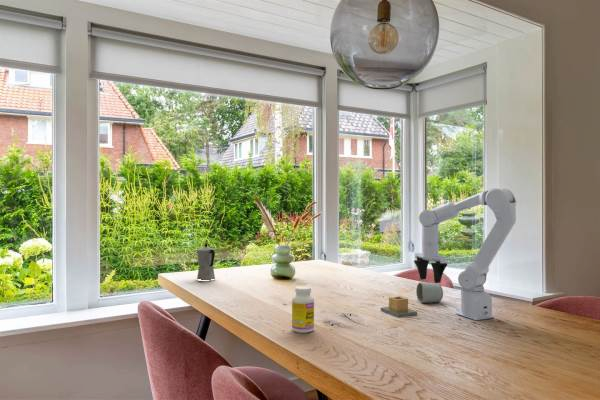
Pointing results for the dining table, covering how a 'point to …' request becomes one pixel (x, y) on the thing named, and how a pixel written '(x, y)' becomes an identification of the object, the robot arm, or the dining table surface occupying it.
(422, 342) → the dining table surface
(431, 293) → the ceramic mug
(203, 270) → the coffeepot
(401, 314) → the flat gray rectangular block
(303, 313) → the supplement bottle
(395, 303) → the wooden block with hole
